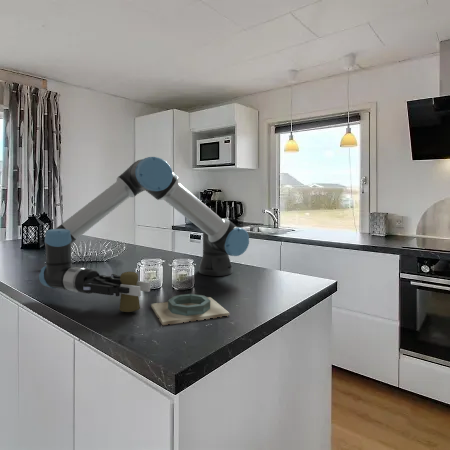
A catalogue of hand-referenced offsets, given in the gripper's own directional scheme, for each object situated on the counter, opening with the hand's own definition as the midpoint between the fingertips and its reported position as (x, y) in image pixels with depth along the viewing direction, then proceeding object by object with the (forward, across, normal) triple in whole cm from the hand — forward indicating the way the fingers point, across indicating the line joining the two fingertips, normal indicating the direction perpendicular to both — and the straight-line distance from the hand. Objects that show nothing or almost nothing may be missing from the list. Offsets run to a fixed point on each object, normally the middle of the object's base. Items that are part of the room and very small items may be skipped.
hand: (144, 289), depth 101 cm
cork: (-5, 0, -7) cm, 9 cm away
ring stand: (+10, -8, -8) cm, 16 cm away
